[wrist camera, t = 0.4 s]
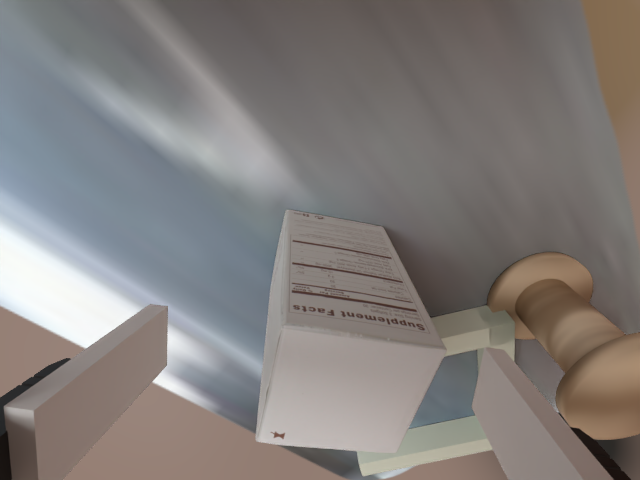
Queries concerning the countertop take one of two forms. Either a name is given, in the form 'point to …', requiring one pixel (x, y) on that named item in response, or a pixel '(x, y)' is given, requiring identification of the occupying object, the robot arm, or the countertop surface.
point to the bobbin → (575, 342)
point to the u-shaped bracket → (459, 434)
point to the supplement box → (343, 340)
